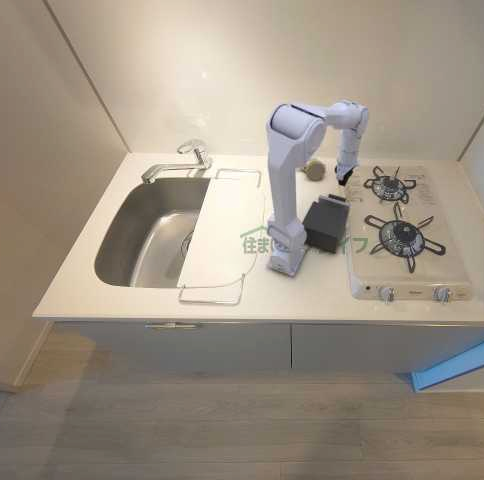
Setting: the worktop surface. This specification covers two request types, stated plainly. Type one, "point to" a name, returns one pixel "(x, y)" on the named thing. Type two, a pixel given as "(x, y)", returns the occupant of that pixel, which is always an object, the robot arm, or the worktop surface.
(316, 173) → the mug
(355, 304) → the worktop surface
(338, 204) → the drawer
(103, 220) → the worktop surface
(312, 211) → the cabinet
